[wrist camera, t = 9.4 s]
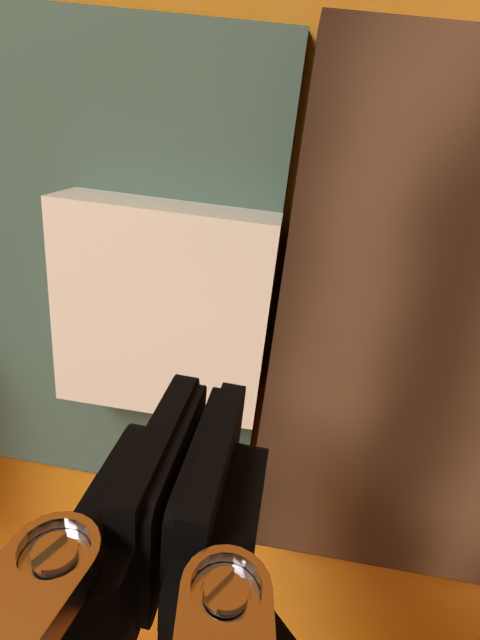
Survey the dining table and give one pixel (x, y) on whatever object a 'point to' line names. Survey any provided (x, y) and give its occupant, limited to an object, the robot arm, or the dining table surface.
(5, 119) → the mat
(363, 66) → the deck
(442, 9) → the dining table surface
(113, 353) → the tile
